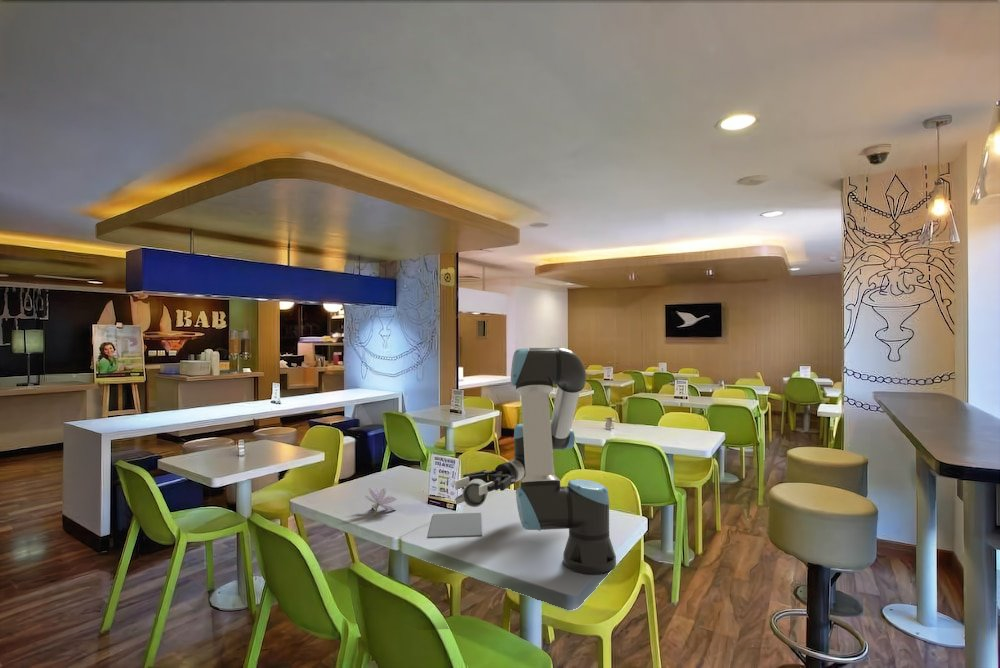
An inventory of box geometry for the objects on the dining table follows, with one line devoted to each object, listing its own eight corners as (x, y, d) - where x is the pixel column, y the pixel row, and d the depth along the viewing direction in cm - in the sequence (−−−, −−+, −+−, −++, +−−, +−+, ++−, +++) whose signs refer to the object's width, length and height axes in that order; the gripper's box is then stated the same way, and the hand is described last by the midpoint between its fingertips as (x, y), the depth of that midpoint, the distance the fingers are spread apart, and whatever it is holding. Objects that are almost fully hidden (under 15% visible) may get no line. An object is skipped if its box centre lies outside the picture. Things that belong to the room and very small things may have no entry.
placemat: (481, 536, 169) (481, 534, 169) (427, 537, 168) (427, 536, 168) (481, 513, 191) (481, 512, 191) (433, 515, 190) (433, 514, 190)
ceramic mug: (488, 499, 169) (488, 476, 169) (486, 507, 161) (485, 482, 161) (457, 499, 170) (456, 476, 170) (453, 507, 161) (452, 483, 161)
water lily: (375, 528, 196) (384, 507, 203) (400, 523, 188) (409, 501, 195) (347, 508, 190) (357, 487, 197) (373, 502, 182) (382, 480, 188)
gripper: (535, 488, 172) (495, 506, 154) (484, 478, 186) (442, 493, 168) (535, 466, 172) (494, 481, 154) (484, 458, 186) (441, 471, 168)
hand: (467, 488), depth 161 cm, fingers closed on ceramic mug, 10 cm apart
